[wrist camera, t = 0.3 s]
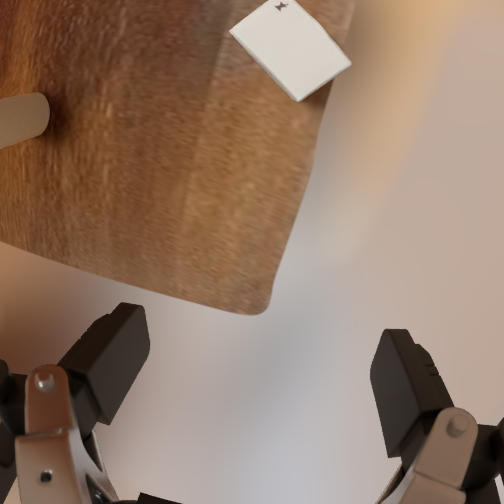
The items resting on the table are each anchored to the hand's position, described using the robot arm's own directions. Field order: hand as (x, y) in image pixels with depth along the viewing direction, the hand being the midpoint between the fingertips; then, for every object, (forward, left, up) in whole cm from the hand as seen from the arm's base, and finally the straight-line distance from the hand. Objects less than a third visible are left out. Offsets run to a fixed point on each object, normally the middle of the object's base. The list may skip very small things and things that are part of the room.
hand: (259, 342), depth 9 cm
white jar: (+3, -31, -22) cm, 38 cm away
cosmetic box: (-10, -3, -23) cm, 25 cm away
